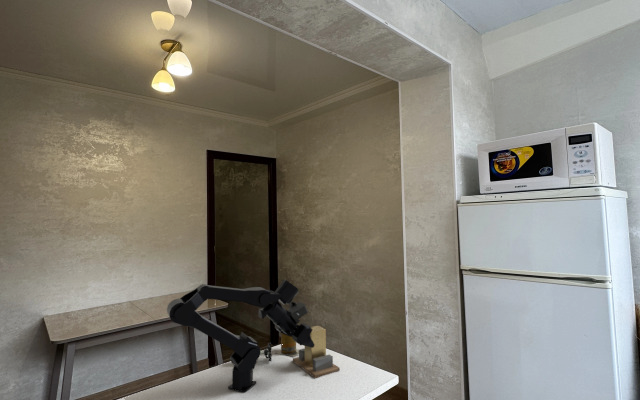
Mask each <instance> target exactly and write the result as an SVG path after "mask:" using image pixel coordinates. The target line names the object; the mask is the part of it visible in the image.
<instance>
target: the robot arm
mask: <svg viewBox="0 0 640 400" xmlns="http://www.w3.org/2000/svg"><path fill="white" fill-rule="evenodd" d="M299 292H300V290H299V288H298V287H296V286H295V285H294V284H292V283H291V282H289V281H288V280H287V279H283V280H282V281H281V283H280V284H279V286H278V287H277V288H276V290H275V291H273V290H271V289H269V290H268V289H266V288H264V287H260V286H259V287H258V286H255V287H254V286H253V287H247V288H236V287H227V286H217V285H208V284H206V283H202V284H200V285H198V286H197V287H196V288H194V289H193V290H191V291H189V292H188V293H185V294H183V296H181V297H180V298H179V297H178V298H175V299H173V300H171V301H170V302H169V303H168V305H167V306H166V313H167V315H168V317H169V319H170V321H172V322H173V323H174V324H177V325H181V326H184V327H188V328H194V329H196V330H197V331H199V332H200V333H203V334H204V335H206V336H208V337H210V338H212V339H213V340H215V341H217V342H219V343H221V344H223V345H224V346H226V347H228V348H230V349H231V350H232V351H233V352H232V354H231V355H230V356H229V360H230V362H231V364H232V365H233V367H232V369H231V371H232V373H231V374H232V375H231V376H232V377H231V380H232V381H231V382H232V384H229V385H228V387H227V388H228V390H233V391H238V392H241V393H247V391H249V390H250V389H251V388H252V387H254V386H255V385H257V380H256V381H255V380H253V379H254V375H253V373H254V372H253V371H254V370H255V367H256V364H257V360H259V358H260V352H261V351H262V350H261V347H260V345H258V344H259V343H258V341H257V340H255V339H254V338H253V337H251V336H248V335H246V334H245V333H244V332H243V331H242V332H240V335H237V334H234V333H232V332H231V331H229V330H228V329H226V328H223V327H222V326H220V325H219V324H217V323H215V322H214V321H212V320H210V319H209V318H207V317H205V316H204V315H202V314H200V313H199V312H197V310H198V309H199V308H200V307H201V305H203V304H204V303H205V302H206V301H207V300H216V301H218V300H219V301H229V302H240V303H245V304H248V305H251V306H253V307H258V315H257V317H259V318H260V319H262V320H264V319H265V318H266V317H267V318H268V319H270V321H272V323H273V324H274V328H275V329H276V331H278V332H279V333H280V334H281V333H282V334H285V335H287V336H290V337H293V340H294V341H295V342H296V344H298V345H300V346H304V347H305V346H308V347H311V348H313V347H314V346H315V345H314V343H313V341H312V339H311V337H310V333H311V332H312V328H311V327H312V326H310V325H308V324H306V323H300V321H301V320H300V319H301V318H302V317H303V316H305V315H307V314H309V311H308V309H307V306H306V304H305V303H304V302H300V301H299V302H295V301H293V300H294V298H295V297H296V296H297V295H298V293H299ZM285 305H289V306H288V310H287V309H286V308H285V307H284V306H285ZM299 323H300V324H299ZM260 350H261V351H260Z"/></svg>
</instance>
